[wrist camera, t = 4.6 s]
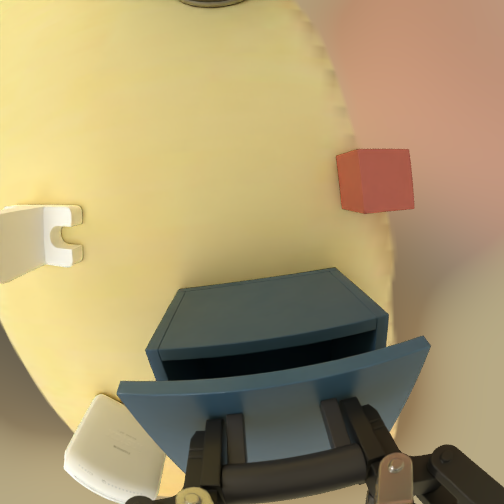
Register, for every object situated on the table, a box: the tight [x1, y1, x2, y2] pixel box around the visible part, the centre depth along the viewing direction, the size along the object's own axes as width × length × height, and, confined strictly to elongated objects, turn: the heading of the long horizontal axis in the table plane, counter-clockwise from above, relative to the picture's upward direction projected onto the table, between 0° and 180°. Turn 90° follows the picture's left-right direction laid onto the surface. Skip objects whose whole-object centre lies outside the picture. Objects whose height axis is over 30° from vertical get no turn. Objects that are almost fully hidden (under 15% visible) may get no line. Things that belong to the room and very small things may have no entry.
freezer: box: [145, 268, 389, 381], centre depth 20 cm, size 16×14×10 cm
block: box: [336, 149, 414, 214], centre depth 20 cm, size 4×4×4 cm
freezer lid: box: [117, 336, 431, 504], centre depth 11 cm, size 16×14×5 cm
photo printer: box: [64, 394, 166, 504], centre depth 21 cm, size 10×4×12 cm, turn 59°
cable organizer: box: [0, 205, 83, 284], centre depth 16 cm, size 5×10×10 cm, turn 85°
